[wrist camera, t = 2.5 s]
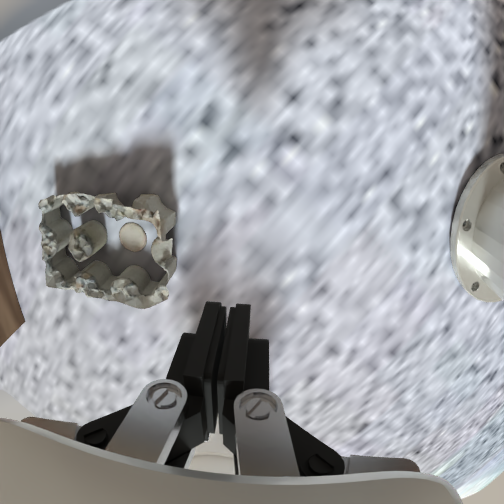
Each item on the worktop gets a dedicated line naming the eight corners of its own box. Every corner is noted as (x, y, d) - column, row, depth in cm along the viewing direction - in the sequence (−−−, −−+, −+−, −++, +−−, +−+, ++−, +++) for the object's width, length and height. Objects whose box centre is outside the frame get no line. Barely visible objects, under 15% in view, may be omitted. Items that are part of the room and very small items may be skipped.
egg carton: (183, 193, 20) (163, 209, 16) (179, 290, 23) (163, 321, 19) (58, 182, 20) (25, 195, 16) (66, 268, 23) (39, 291, 19)
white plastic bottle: (233, 386, 26) (208, 539, 12) (277, 422, 28) (271, 555, 14) (181, 407, 28) (142, 534, 14) (225, 439, 30) (205, 556, 16)
